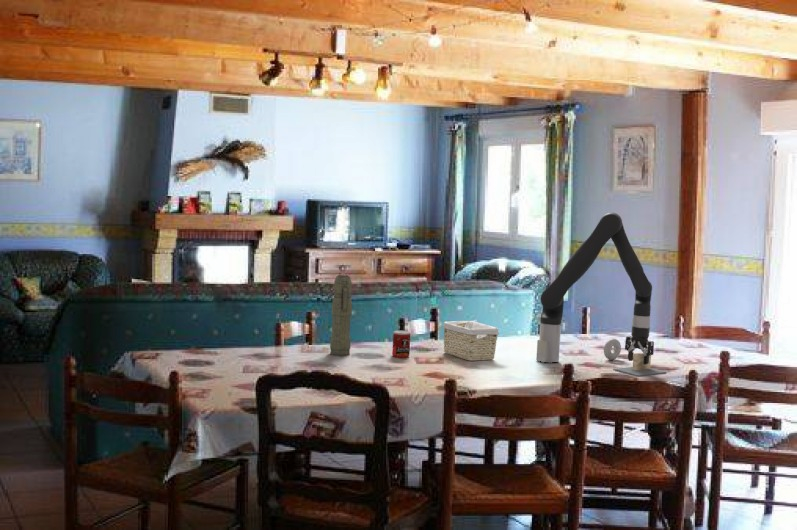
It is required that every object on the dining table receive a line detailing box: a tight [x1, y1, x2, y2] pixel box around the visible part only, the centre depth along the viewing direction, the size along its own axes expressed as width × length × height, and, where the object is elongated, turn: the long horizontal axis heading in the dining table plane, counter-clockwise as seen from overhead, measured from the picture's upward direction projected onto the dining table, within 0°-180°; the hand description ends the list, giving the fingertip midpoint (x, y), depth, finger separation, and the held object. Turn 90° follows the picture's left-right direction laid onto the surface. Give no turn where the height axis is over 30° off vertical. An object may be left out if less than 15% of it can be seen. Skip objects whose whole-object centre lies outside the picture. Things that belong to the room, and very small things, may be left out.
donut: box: [603, 338, 622, 361], centre depth 456 cm, size 10×4×10 cm, turn 125°
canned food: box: [391, 330, 411, 359], centre depth 439 cm, size 8×8×11 cm
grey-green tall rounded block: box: [329, 274, 353, 357], centre depth 437 cm, size 9×12×35 cm
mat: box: [612, 366, 667, 377], centre depth 430 cm, size 18×14×1 cm
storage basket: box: [442, 320, 499, 362], centre depth 447 cm, size 24×16×15 cm
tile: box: [632, 352, 652, 370], centre depth 433 cm, size 9×2×7 cm, turn 125°
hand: (638, 362), depth 432 cm, fingers open, 8 cm apart
